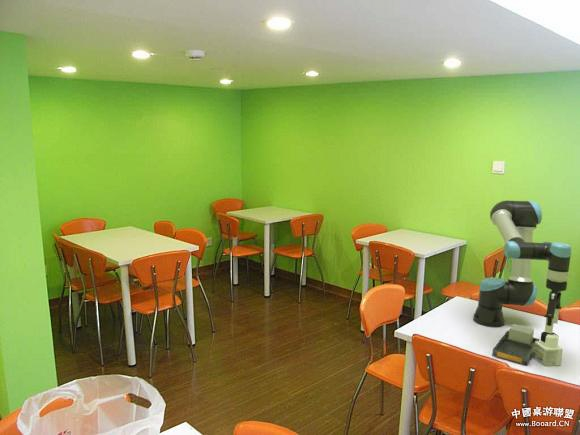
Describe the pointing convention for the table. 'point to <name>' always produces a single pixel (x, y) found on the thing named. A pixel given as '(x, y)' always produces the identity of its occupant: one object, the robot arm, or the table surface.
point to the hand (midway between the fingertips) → (551, 327)
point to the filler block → (521, 334)
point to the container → (548, 350)
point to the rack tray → (514, 350)
